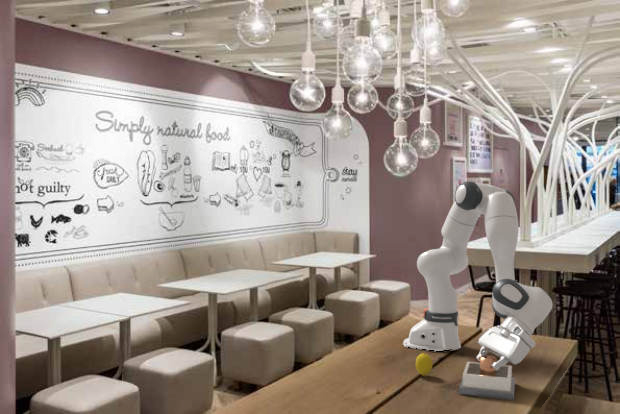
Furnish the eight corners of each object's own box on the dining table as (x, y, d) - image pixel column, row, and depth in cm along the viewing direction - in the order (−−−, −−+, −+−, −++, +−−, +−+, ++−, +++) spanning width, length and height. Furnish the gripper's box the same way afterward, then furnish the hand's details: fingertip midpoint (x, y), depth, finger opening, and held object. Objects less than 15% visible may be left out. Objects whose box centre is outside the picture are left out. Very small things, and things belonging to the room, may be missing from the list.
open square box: (459, 394, 188) (459, 374, 188) (464, 378, 203) (464, 360, 203) (513, 400, 183) (514, 380, 183) (514, 383, 198) (515, 365, 198)
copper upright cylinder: (491, 379, 196) (491, 348, 196) (499, 384, 191) (499, 352, 191) (476, 380, 195) (477, 349, 194) (484, 385, 190) (485, 353, 190)
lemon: (433, 374, 208) (433, 351, 207) (430, 379, 202) (431, 355, 202) (416, 372, 209) (417, 349, 209) (414, 377, 204) (414, 354, 204)
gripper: (491, 317, 204) (463, 348, 202) (526, 332, 184) (496, 367, 182) (502, 330, 205) (476, 361, 203) (539, 346, 185) (509, 380, 184)
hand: (486, 364), depth 193 cm, fingers open, 8 cm apart
